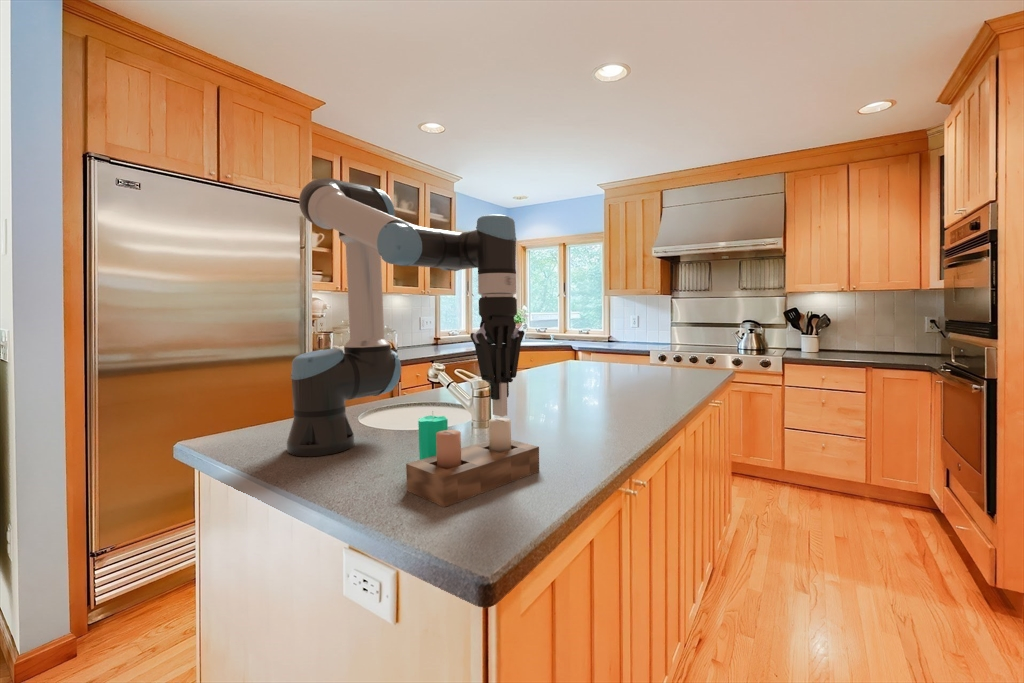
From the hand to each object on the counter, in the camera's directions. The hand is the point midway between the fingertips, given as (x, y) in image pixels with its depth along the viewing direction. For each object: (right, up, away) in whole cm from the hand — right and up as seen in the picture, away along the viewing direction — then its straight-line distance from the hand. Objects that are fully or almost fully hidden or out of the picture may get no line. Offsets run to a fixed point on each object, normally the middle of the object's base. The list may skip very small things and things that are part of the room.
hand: (499, 414), depth 97 cm
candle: (-14, -12, +4) cm, 18 cm away
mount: (-4, -12, -4) cm, 13 cm away
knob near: (-9, -8, -9) cm, 15 cm away
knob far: (0, -7, +1) cm, 7 cm away
